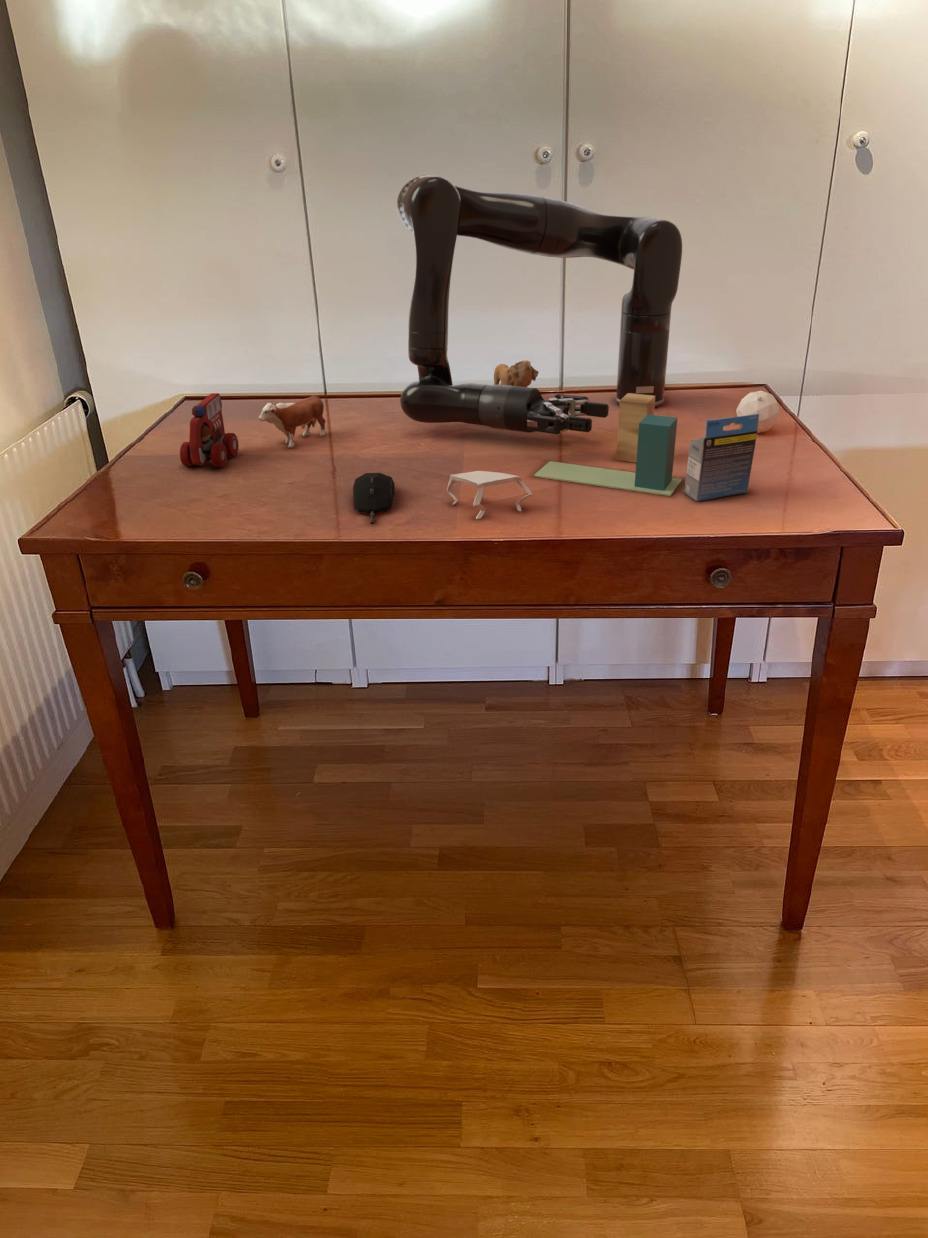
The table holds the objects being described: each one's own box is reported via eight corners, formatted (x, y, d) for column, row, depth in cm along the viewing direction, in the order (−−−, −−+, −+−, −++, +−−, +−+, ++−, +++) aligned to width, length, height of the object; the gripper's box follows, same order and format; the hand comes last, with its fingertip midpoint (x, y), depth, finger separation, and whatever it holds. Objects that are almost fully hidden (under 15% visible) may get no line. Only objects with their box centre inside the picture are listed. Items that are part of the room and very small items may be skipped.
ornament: (785, 429, 157) (789, 402, 150) (746, 447, 157) (749, 420, 150) (766, 401, 160) (769, 373, 153) (728, 419, 160) (729, 391, 153)
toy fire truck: (177, 473, 147) (164, 411, 141) (206, 448, 157) (196, 390, 152) (216, 474, 146) (205, 412, 140) (243, 449, 156) (234, 390, 151)
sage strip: (549, 462, 146) (549, 460, 146) (682, 480, 137) (682, 478, 137) (533, 476, 141) (533, 475, 140) (670, 496, 132) (670, 494, 132)
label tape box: (733, 485, 135) (744, 405, 129) (749, 494, 132) (760, 413, 126) (683, 493, 133) (691, 413, 127) (697, 502, 130) (706, 420, 123)
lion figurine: (541, 406, 174) (542, 360, 169) (519, 411, 171) (520, 364, 167) (498, 390, 184) (498, 346, 180) (477, 395, 182) (476, 350, 177)
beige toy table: (453, 523, 126) (452, 490, 123) (446, 501, 133) (445, 470, 130) (536, 516, 127) (536, 484, 124) (525, 495, 134) (525, 464, 132)
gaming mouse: (350, 525, 126) (347, 499, 124) (355, 487, 139) (352, 462, 137) (394, 523, 126) (392, 497, 124) (395, 485, 139) (393, 460, 137)
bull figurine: (259, 449, 156) (252, 403, 152) (319, 430, 165) (314, 386, 160) (274, 454, 154) (268, 408, 149) (334, 434, 162) (329, 390, 158)
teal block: (642, 476, 139) (647, 414, 134) (671, 480, 137) (677, 417, 132) (634, 486, 135) (638, 422, 130) (663, 490, 133) (669, 426, 128)
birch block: (624, 451, 150) (628, 392, 145) (650, 454, 148) (655, 395, 143) (615, 460, 146) (619, 400, 141) (643, 463, 144) (647, 403, 139)
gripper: (492, 397, 146) (586, 407, 139) (526, 376, 157) (614, 384, 150) (493, 441, 149) (584, 453, 143) (526, 417, 160) (612, 427, 154)
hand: (599, 417), depth 147 cm, fingers open, 8 cm apart
